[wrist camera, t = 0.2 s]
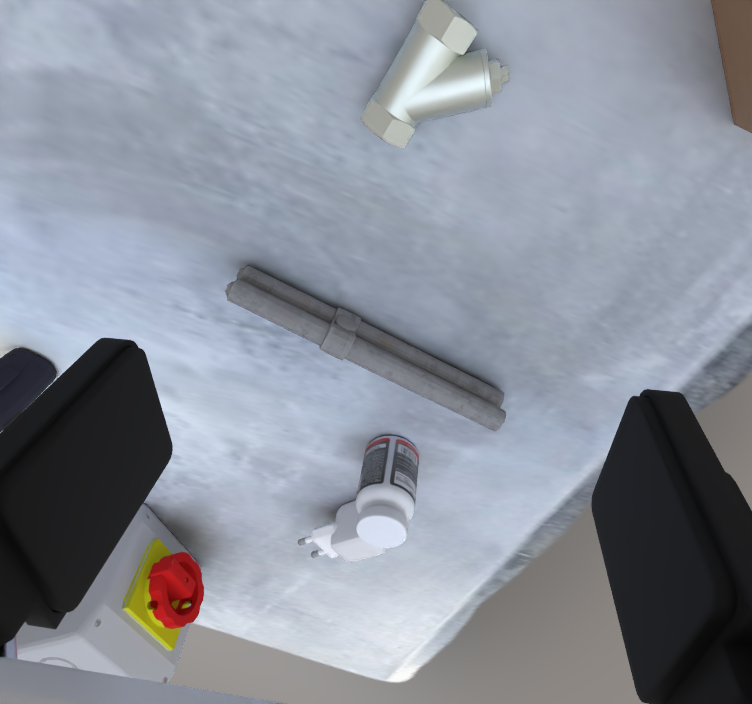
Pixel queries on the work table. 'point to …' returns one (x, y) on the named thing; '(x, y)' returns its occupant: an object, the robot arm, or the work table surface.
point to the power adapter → (342, 537)
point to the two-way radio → (21, 382)
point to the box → (736, 55)
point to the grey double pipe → (367, 347)
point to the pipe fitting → (433, 76)
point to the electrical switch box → (127, 610)
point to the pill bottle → (387, 491)
